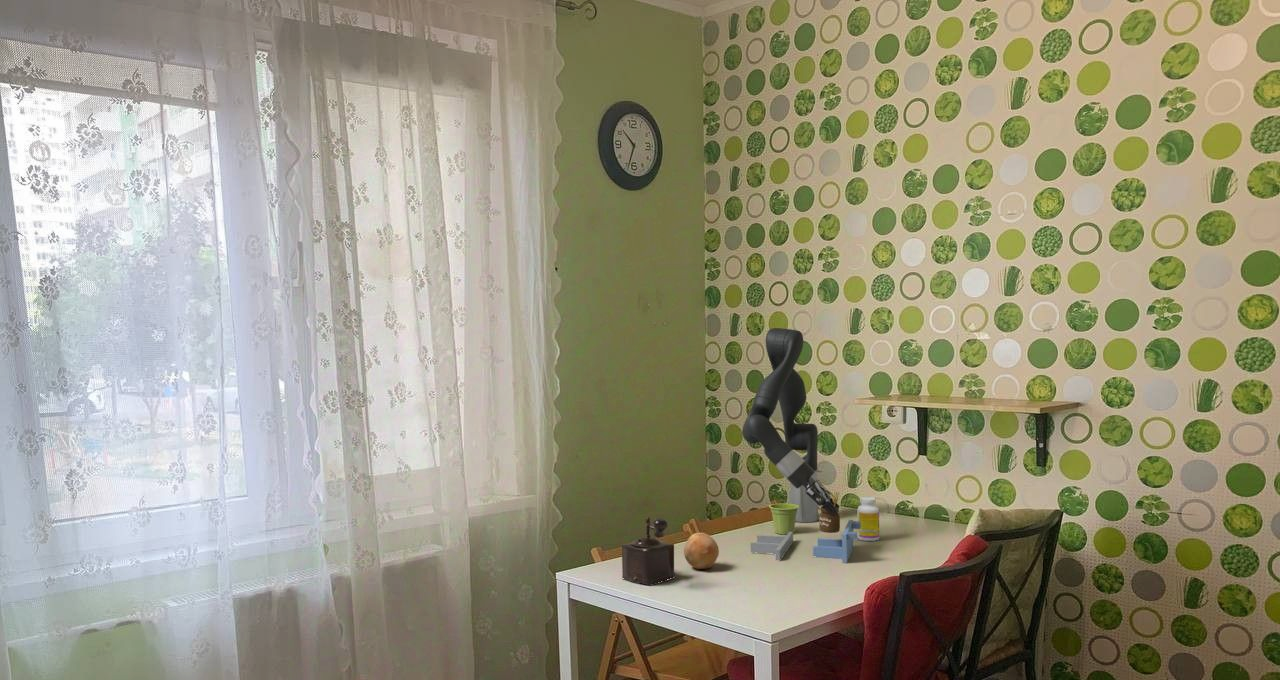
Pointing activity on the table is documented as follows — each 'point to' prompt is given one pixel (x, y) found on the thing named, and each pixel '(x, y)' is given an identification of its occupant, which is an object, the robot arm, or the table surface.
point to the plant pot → (784, 517)
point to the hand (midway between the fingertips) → (836, 511)
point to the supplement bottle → (868, 519)
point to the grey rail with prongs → (772, 544)
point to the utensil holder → (829, 519)
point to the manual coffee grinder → (649, 556)
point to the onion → (701, 551)
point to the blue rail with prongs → (838, 544)
